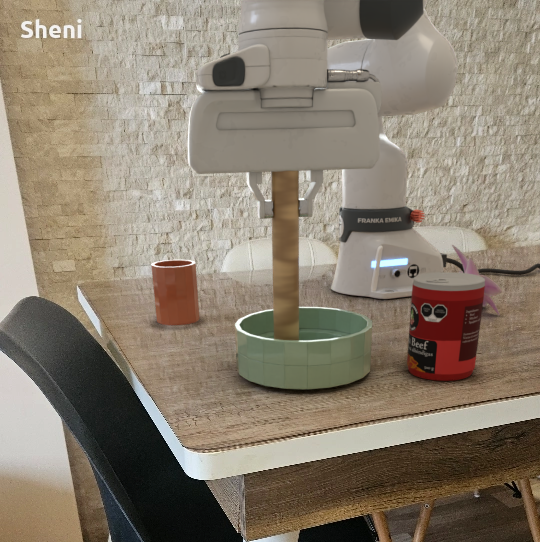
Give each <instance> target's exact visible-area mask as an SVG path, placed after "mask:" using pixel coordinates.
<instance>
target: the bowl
mask: <svg viewBox="0 0 540 542" xmlns="http://www.w3.org/2000/svg"><path fill="white" fill-rule="evenodd" d="M372 339H373V320H372V319H371V318H370V317H368V316H367V315H364V314H363V313H359V312H356V311H353V310H347V309H342V308H335V307H322V306H299V340H279V339H274V318H273V308H272V309H265V310H264V309H263V310H261V311H255V312H252V313H249V314H247V315H245V316H242V317H240V318H238V319H237V321H236V322H235V323H234V341H235V342H234V344H235V346H234V347H235V360H236V361H235V363H236V370H237V373H238V375H239V376H241V377H242V378H244V379H245V380H246V381H248V382H251V383H254V384H258V385H260V386H264V387H271V388H277V389H278V388H279V389H286V390H298V391H299V390H320V389H329V388H334V387H338V386H344V385H348V384H351V383H354V382H356V381H358V380H361V379H364V378H365V376H367V375H368V374H369V373H370V372H371V365H372V363H371V360H372V342H373V340H372Z"/></svg>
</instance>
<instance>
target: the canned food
mask: <svg viewBox="0 0 540 542" xmlns="http://www.w3.org/2000/svg"><path fill="white" fill-rule="evenodd" d="M484 290H485V279H484V278H483V277H481V276H478V275H474V274H467V273H458V272H453V271H444V272H435V273H426V274H421V275H418V276H416V277H414V281H413V286H412V296H411V297H410V299H411V300H410V313H409V329H408V343H407V357H406V365H407V369H408V372H409V373H410V374H411V375H413V376H415V377H417V378H421V379H423V380H429V381H436V382H437V381H438V382H453V381H461V380H464V379H467V378H470V377H471V375H472V374H473V372H474V370H475V368H476V362H477V353H478V346H479V338H480V330H481V324H482V323H481V322H482V315H483V307H484V306H483V299H484Z"/></svg>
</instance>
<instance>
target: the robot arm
mask: <svg viewBox="0 0 540 542" xmlns="http://www.w3.org/2000/svg"><path fill="white" fill-rule="evenodd" d="M427 3H428V0H240V16H239V17H240V18H239V23H238V28H237V45H238V46H237V47H238V48H237V51H235V52H231V53H230V52H228V53H225V54H223V55H221V56H220V57H219V58H216V59H213V60H211V61H208V62H206V63H204V64H202V65H200V66H199V67H198V68H197V70H196V71H195V75H194V78H195V79H194V80H195V86H196V89H197V91H198V92H200V93H201V94H200V95H197V97H196V98H195V99H194V101H193V103H192V105H191V107H190V111H189V118H188V129H187V162H188V166H189V167H190V169H191V170H192V171H193V172H194V173H195V174H198V175H210V174H211V175H214V174H242V173H246V174H245V175H246V176H245V179H246V185H247V186H248V188H249V191H250V192H251V194H252V195H253V197H254V199H255V200H256V201H257V202H256V203H257V205H256V206H257V218H258V219H259V220H267V219H272V218H273V211H272V209H273V201H271V199H265V197H264V195H263V193H262V191H261V190H260V188H259V186H258V185H261V184H263V173H271V172H278V171H299V172H303V171H304V172H305V174H306V175H305V177H306V179H305V180H306V181H307V182H309V186H308V187H307V190H306V192H305V194H304V195H303V198H299V218H311V217H313V214H314V213H313V208H314V203H313V202H314V200H315V198H316V196H317V194H318V193H319V190H320V189H321V187H322V185H323V183H324V171H335V170H340V171H341V206H340V207H339V211H338V218H337V236H338V240H339V244H338V255H337V260H336V267H335V271H334V276H333V279H332V282H331V285H330V289H331V290H332V291H333V292H336V293H339V294H343V295H350V296H356V297H357V296H358V297H368V298H373V299H379V300H388V299H398V298H406V297H412V286H413V281H414V277H416V276H418V275H421V274H426V273H435V272H445V270H444V268H446V267H447V263H448V264H452V265H453V266H456V267H457V268H458V269H460V271H463V273H464V268H463V265H462V263H461V261H458V260H456V259H453V258H449V257H448V254H447V253H442V252H440V251H439V250H438V249H437V248H436V247H435V246H434V245H433V244H432V243H431V242H430V241H428V240H427V239H426V238H425V237H424V236H423V235H422V234H420V233H419V232H418V231H417V230H416V229H415V228H414V226H415V223H418V224H419V223H422V222H423V220H425V217H426V214H425V212H424V211H423V210H421V209H418V208H417V209H416V208H415V209H412V208H410V207H409V206H407V205H406V200H407V199H406V197H407V183H408V171H409V170H408V168H409V162H408V158H407V156H406V153H405V152H404V150H402V148H401V147H400V146H398V145H397V144H395V143H394V142H393V141H391V140H390V139H389V138H388V137H387V135H386V133H385V130H384V125H383V117H394V116H395V117H397V116H398V117H399V116H400V117H401V116H415V115H419V114H423V113H426V112H429V111H430V112H431V111H432V110H436V109H438V108H441V107H443V106H444V105H445V104H446V102H447V101H448V100H449V98H450V97H451V95H452V92H453V91H454V88H455V85H456V81H457V77H458V59H457V55H456V52H455V49H454V47H453V45H452V44H451V43H450V41H449V39H447V37H445V36H444V35H443V34H442V33H441V32H440V31H439V30H438V29H437V28H436V26H435V24H433V22H432V21H431V19H430V17H429V15H428V13H427V10H426V6H427ZM351 39H352V40H351ZM353 39H357V40H353ZM337 40H348V41H343V42H341V43H337V44H335V45H332V46H330V47H329V46H328V41H337ZM349 40H351V41H349ZM477 269H478V268H477ZM536 269H539V270H540V263H535V264H534V265H532V266H530V267H529V268H527V269H522V270H514V269H513V270H512V269H502V268H501V269H500V268H489V267H488V268H487V267H486V268H485V267H483V268H479V269H478V272H479V274H500V275H508V276H509V275H512V276H525V275H528V274H530V273H532V272H534V271H535V270H536Z"/></svg>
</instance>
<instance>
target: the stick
mask: <svg viewBox="0 0 540 542" xmlns="http://www.w3.org/2000/svg"><path fill="white" fill-rule="evenodd" d="M299 187H300V171H278V172H270V200H271V201H273V209H272V211H273V218H271V249H272V250H271V259H272V260H271V261H272V263H271V265H272V307H273V308H272V309H273V318H274V339H279V340H299V307H300V217H299V199H300V193H299V192H300V188H299Z"/></svg>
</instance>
